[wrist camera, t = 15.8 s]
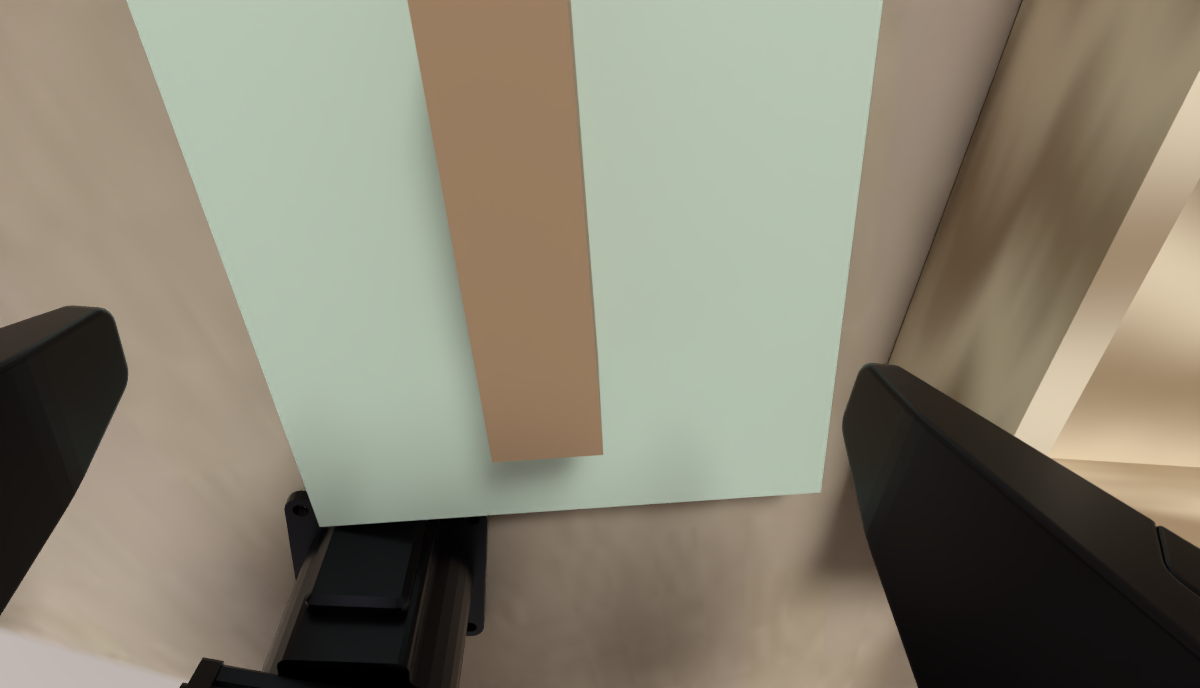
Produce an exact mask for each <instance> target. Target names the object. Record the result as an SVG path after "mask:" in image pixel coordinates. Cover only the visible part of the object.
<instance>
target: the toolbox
mask: <svg viewBox="0 0 1200 688" xmlns="http://www.w3.org/2000/svg"><path fill="white" fill-rule="evenodd" d="M888 364H892V365H897V366H900V367H901V368H903V369H905V370H906V371H908V372H910V373H911V374H913V375H915V376H916V377H918V378H920V379H921V380H923V381H925V382H926V383H928V384H929V385H931V386H933V387H934V388H936V389H938V390H939V391H941V392H943V393H944V394H946V395H948V396H949V397H951V398H953V399H954V400H956V401H957V402H959V403H961V404H962V405H964V406H966V407H967V408H969V409H971V410H972V411H974V412H976V413H977V414H979V415H981V416H982V417H984V418H985V419H987V420H989V421H990V422H992V423H994V424H995V425H997V426H999V427H1000V428H1002V429H1004V430H1005V431H1007V432H1009V433H1010V434H1012V435H1013V436H1015V437H1017V438H1018V439H1020V440H1022V441H1023V442H1025V443H1027V444H1028V445H1030V446H1032V447H1033V448H1035V449H1037V450H1038V451H1040V452H1041V453H1043V454H1045V455H1046V456H1048V457H1050V458H1051V459H1053V460H1055V461H1056V462H1058V463H1060V464H1061V465H1063V466H1065V467H1066V468H1068V469H1069V470H1071V471H1073V472H1074V473H1076V474H1078V475H1079V476H1081V477H1083V478H1084V479H1086V480H1088V481H1089V482H1091V483H1093V484H1094V485H1096V486H1097V487H1099V488H1101V489H1102V490H1104V491H1106V492H1107V493H1109V494H1111V495H1112V496H1114V497H1116V498H1117V499H1119V500H1121V501H1122V502H1124V503H1125V504H1127V505H1129V506H1130V507H1132V508H1134V509H1135V510H1137V511H1139V512H1140V513H1142V514H1144V515H1145V516H1147V517H1149V518H1150V519H1152V520H1153V521H1154V522H1155V524H1156V526H1159V525H1160V526H1164V527H1165V528H1167V529H1169V530H1170V531H1172V532H1174V533H1175V534H1177V535H1178V536H1180V537H1182V538H1183V539H1185V540H1187V541H1188V542H1190V543H1192V544H1193V545H1195V546H1197V547H1198V548H1200V0H1023V1H1022V4H1021V6H1020V9H1019V12H1018V15H1017V17H1016V20H1015V23H1014V25H1013V28H1012V31H1011V33H1010V36H1009V39H1008V41H1007V44H1006V47H1005V50H1004V52H1003V55H1002V58H1001V60H1000V63H999V66H998V68H997V71H996V74H995V77H994V79H993V82H992V85H991V87H990V90H989V93H988V95H987V98H986V101H985V103H984V106H983V109H982V112H981V114H980V117H979V120H978V122H977V125H976V128H975V130H974V133H973V136H972V139H971V141H970V144H969V147H968V149H967V152H966V155H965V157H964V160H963V163H962V166H961V168H960V171H959V174H958V176H957V179H956V182H955V184H954V187H953V190H952V192H951V195H950V198H949V201H948V203H947V206H946V209H945V211H944V214H943V217H942V219H941V222H940V225H939V228H938V230H937V233H936V236H935V238H934V241H933V244H932V246H931V249H930V252H929V254H928V257H927V260H926V263H925V265H924V268H923V271H922V273H921V276H920V279H919V281H918V284H917V287H916V290H915V292H914V295H913V298H912V300H911V303H910V306H909V308H908V311H907V314H906V317H905V319H904V322H903V325H902V327H901V330H900V333H899V335H898V338H897V341H896V343H895V346H894V349H893V352H892V354H891V357H890V360H889V362H888Z"/></svg>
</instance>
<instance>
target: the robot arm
mask: <svg viewBox="0 0 1200 688" xmlns="http://www.w3.org/2000/svg"><path fill="white" fill-rule="evenodd" d="M127 381H128V367H127V363H126V359H125V355H124V352H123V348H122V344H121V341H120V337H119V333H118V330H117V326H116V323H115V320H114V317H113V316H112V314H111V313H110V312H109V311H107V310H106V309H104V308H99V307H86V306H65V307H62V308H59V309H56V310H53V311H50V312H47V313H44V314H41V315H38V316H35V317H32V318H29V319H26V320H23V321H20V322H17V323H14V324H11V325H8V326H5V327H2V328H0V615H1V614H2V612H3V610H4V609H5V607H6V606H7V604H8V602H9V601H10V599H11V597H12V596H13V594H14V593H15V591H16V589H17V588H18V586H19V585H20V583H21V581H22V580H23V578H24V577H25V575H26V573H27V572H28V570H29V569H30V567H31V565H32V564H33V562H34V561H35V559H36V557H37V556H38V554H39V552H40V551H41V549H42V548H43V546H44V544H45V543H46V541H47V540H48V538H49V536H50V535H51V533H52V532H53V530H54V528H55V527H56V525H57V524H58V522H59V520H60V519H61V517H62V516H63V514H64V512H65V511H66V509H67V507H68V505H69V504H70V502H71V500H72V499H73V497H74V495H75V493H76V491H77V489H78V488H79V486H80V484H81V482H82V480H83V478H84V476H85V474H86V472H87V469H88V467H89V465H90V463H91V461H92V459H93V457H94V455H95V452H96V450H97V448H98V446H99V444H100V442H101V440H102V438H103V435H104V433H105V431H106V429H107V427H108V425H109V423H110V420H111V418H112V416H113V414H114V412H115V410H116V408H117V406H118V403H119V401H120V399H121V397H122V395H123V393H124V391H125V388H126V385H127ZM842 431H843V437H844V442H845V446H846V451H847V456H848V460H849V465H850V469H851V474H852V478H853V483H854V487H855V492H856V497H857V501H858V506H859V510H860V515H861V519H862V523H863V527H864V531H865V535H866V538H867V541H868V545H869V548H870V551H871V554H872V557H873V560H874V563H875V565H876V568H877V571H878V574H879V577H880V580H881V583H882V586H883V588H884V591H885V594H886V597H887V600H888V603H889V606H890V609H891V611H892V614H893V617H894V620H895V623H896V626H897V629H898V632H899V634H900V637H901V640H902V643H903V646H904V649H905V652H906V655H907V657H908V660H909V663H910V666H911V669H912V672H913V675H914V678H915V680H916V683H917V686H918V688H1200V548H1198V547H1197V546H1195V545H1193V544H1192V543H1190V542H1188V541H1187V540H1185V539H1183V538H1182V537H1180V536H1178V535H1177V534H1175V533H1174V532H1172V531H1170V530H1169V529H1167V528H1165V527H1164V526H1160V525H1159V526H1156V524H1155V522H1154V521H1153V520H1152V519H1150V518H1149V517H1147V516H1145V515H1144V514H1142V513H1140V512H1139V511H1137V510H1135V509H1134V508H1132V507H1130V506H1129V505H1127V504H1125V503H1124V502H1122V501H1121V500H1119V499H1117V498H1116V497H1114V496H1112V495H1111V494H1109V493H1107V492H1106V491H1104V490H1102V489H1101V488H1099V487H1097V486H1096V485H1094V484H1093V483H1091V482H1089V481H1088V480H1086V479H1084V478H1083V477H1081V476H1079V475H1078V474H1076V473H1074V472H1073V471H1071V470H1069V469H1068V468H1066V467H1065V466H1063V465H1061V464H1060V463H1058V462H1056V461H1055V460H1053V459H1051V458H1050V457H1048V456H1046V455H1045V454H1043V453H1041V452H1040V451H1038V450H1037V449H1035V448H1033V447H1032V446H1030V445H1028V444H1027V443H1025V442H1023V441H1022V440H1020V439H1018V438H1017V437H1015V436H1013V435H1012V434H1010V433H1009V432H1007V431H1005V430H1004V429H1002V428H1000V427H999V426H997V425H995V424H994V423H992V422H990V421H989V420H987V419H985V418H984V417H982V416H981V415H979V414H977V413H976V412H974V411H972V410H971V409H969V408H967V407H966V406H964V405H962V404H961V403H959V402H957V401H956V400H954V399H953V398H951V397H949V396H948V395H946V394H944V393H943V392H941V391H939V390H938V389H936V388H934V387H933V386H931V385H929V384H928V383H926V382H925V381H923V380H921V379H920V378H918V377H916V376H915V375H913V374H911V373H910V372H908V371H906V370H905V369H903V368H901V367H900V366H897V365H892V364H877V363H867V364H866V365H864V366H863V367H862V368H861V369H860V371H859V373H858V375H857V378H856V381H855V384H854V386H853V389H852V392H851V395H850V398H849V401H848V404H847V407H846V409H845V412H844V416H843V422H842ZM299 505H302V506H305V507H306V508H304V507H301V506H299ZM285 516H286V522H287V528H288V534H289V541H290V547H291V553H292V560H293V566H294V572H295V579H296V583H295V585H294V588H293V590H292V593H291V596H290V598H289V601H288V604H287V606H286V609H285V611H284V614H283V617H282V619H281V622H280V624H279V627H278V630H277V632H276V635H275V638H274V640H273V643H272V645H271V648H270V651H269V653H268V656H267V658H266V661H265V664H264V666H263V669H262V671H256V670H250V669H245V668H239V667H233V666H228V665H224V661H220V660H215V659H209V658H202V660H201V662H200V663H199V665H198V667H197V669H196V670H195V672H194V674H193V676H192V677H191V679H190V681H189V683H182V685H181V686H180V688H459V683H460V675H461V668H462V660H463V653H464V646H465V638H466V636H474V635H477V634H480V633H481V632H482V631H483V628H484V620H485V596H486V569H487V543H488V517H489V515H486V516H474V517H473V516H472V517H457V518H443V519H428V520H414V521H399V522H385V523H370V524H356V525H341V526H327V527H320V526H319V524H318V521H317V518H316V515H315V513H314V510H313V507H312V504H311V502H310V499H309V496H308V494H307V491H296V492H294V493H292V494H291V495H290V496H289V498H288V500H287V503H286V505H285Z"/></svg>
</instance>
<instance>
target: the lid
mask: <svg viewBox="0 0 1200 688" xmlns="http://www.w3.org/2000/svg"><path fill="white" fill-rule="evenodd" d="M127 3H128V6H129V9H130V11H131V14H132V17H133V19H134V22H135V25H136V28H137V30H138V33H139V36H140V39H141V41H142V44H143V47H144V49H145V52H146V55H147V58H148V60H149V63H150V66H151V69H152V71H153V74H154V77H155V79H156V82H157V85H158V88H159V90H160V93H161V96H162V98H163V101H164V104H165V107H166V109H167V112H168V115H169V118H170V120H171V123H172V126H173V128H174V131H175V134H176V137H177V139H178V142H179V145H180V148H181V150H182V153H183V156H184V158H185V161H186V164H187V167H188V169H189V172H190V175H191V177H192V180H193V183H194V186H195V188H196V191H197V194H198V197H199V199H200V202H201V205H202V207H203V210H204V213H205V216H206V218H207V221H208V224H209V227H210V229H211V232H212V235H213V237H214V240H215V243H216V246H217V248H218V251H219V254H220V257H221V259H222V262H223V265H224V267H225V270H226V273H227V276H228V278H229V281H230V284H231V286H232V289H233V292H234V295H235V297H236V300H237V303H238V306H239V308H240V311H241V314H242V316H243V319H244V322H245V325H246V327H247V330H248V333H249V336H250V338H251V341H252V344H253V346H254V349H255V352H256V355H257V357H258V360H259V363H260V365H261V368H262V371H263V374H264V376H265V379H266V382H267V385H268V387H269V390H270V393H271V395H272V398H273V401H274V404H275V406H276V409H277V412H278V415H279V417H280V420H281V423H282V425H283V428H284V431H285V434H286V436H287V439H288V442H289V445H290V447H291V450H292V453H293V455H294V458H295V461H296V464H297V466H298V469H299V472H300V474H301V477H302V480H303V483H304V485H305V488H306V491H307V494H308V496H309V499H310V502H311V504H312V507H313V510H314V513H315V515H316V518H317V521H318V524H319V526H320V527H327V526H341V525H356V524H370V523H385V522H399V521H414V520H428V519H443V518H457V517H472V516H486V515H501V514H515V513H530V512H544V511H559V510H573V509H588V508H602V507H617V506H631V505H646V504H661V503H675V502H690V501H704V500H719V499H733V498H748V497H762V496H777V495H791V494H806V493H820V492H821V485H822V478H823V470H824V462H825V454H826V446H827V438H828V430H829V422H830V414H831V407H832V399H833V391H834V383H835V375H836V367H837V359H838V351H839V343H840V336H841V328H842V320H843V312H844V304H845V296H846V288H847V280H848V272H849V265H850V257H851V249H852V241H853V233H854V225H855V217H856V209H857V201H858V194H859V186H860V178H861V170H862V162H863V154H864V146H865V138H866V131H867V123H868V115H869V107H870V99H871V91H872V83H873V75H874V67H875V60H876V52H877V44H878V36H879V28H880V20H881V12H882V4H883V0H127Z"/></svg>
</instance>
